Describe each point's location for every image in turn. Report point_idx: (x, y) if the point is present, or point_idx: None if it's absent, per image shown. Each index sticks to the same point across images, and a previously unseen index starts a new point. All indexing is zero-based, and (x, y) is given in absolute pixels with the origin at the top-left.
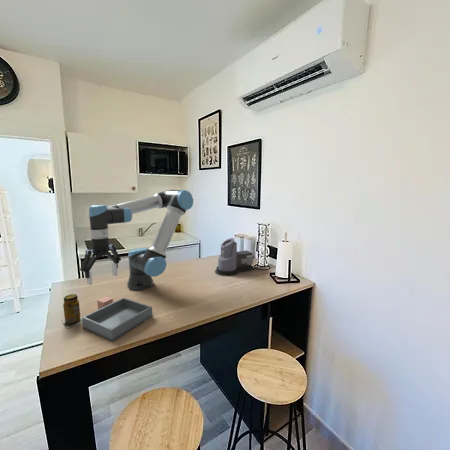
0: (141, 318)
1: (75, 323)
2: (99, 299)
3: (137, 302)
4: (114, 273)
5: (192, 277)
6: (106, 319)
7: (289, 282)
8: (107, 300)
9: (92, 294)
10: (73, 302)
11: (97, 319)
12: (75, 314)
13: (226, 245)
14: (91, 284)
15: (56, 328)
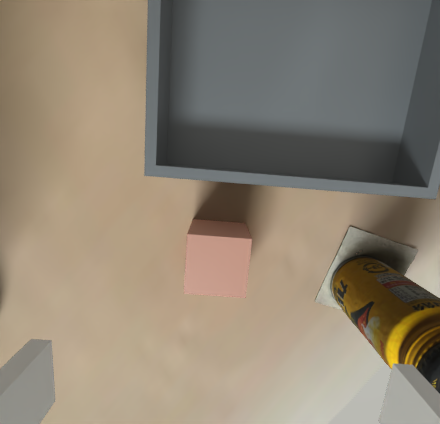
0: None
1: (374, 252)
2: (232, 294)
3: (153, 13)
4: (32, 392)
5: None
6: (315, 132)
7: None
8: (221, 240)
9: (144, 415)
10: None
11: (331, 176)
12: (394, 273)
13: None
14: (408, 368)
15: (425, 288)
